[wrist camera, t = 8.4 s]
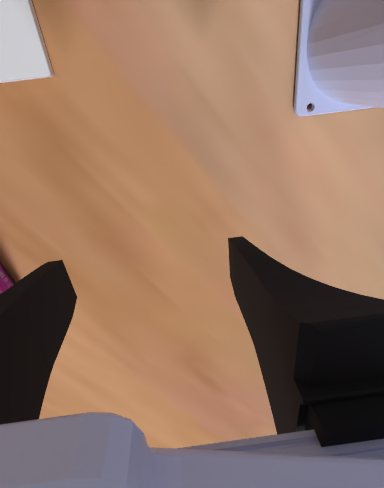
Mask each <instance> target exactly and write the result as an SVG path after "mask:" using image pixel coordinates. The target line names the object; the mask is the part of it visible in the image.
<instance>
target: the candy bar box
mask: <svg viewBox="0 0 384 488" xmlns="http://www.w3.org/2000/svg"><path fill="white" fill-rule="evenodd" d="M14 284H16V283H15V282H14V281H13V279H12V278H11V277H10V276H9V274H8V273H7V272H6V270H5V269H4V268H3V267H2V265H1V264H0V294H1V293H3V292H4V291H6V290H7V289H9V288H10V287H11V286H13V285H14Z"/></svg>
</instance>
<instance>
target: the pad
mask: <svg viewBox="0 0 384 488" xmlns="http://www.w3.org/2000/svg"><path fill="white" fill-rule="evenodd" d="M46 77H54V73H53V69H52V66H51V63H50V59H49V56H48V53H47V50H46V46H45V43H44V40H43V36H42V33H41V30H40V26H39V23H38V20H37V16H36V13H35V10H34V6H33V3H32V0H0V83H6V82H14V81H22V80H30V79H38V78H46Z"/></svg>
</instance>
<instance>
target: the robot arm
mask: <svg viewBox="0 0 384 488" xmlns="http://www.w3.org/2000/svg"><path fill="white" fill-rule="evenodd" d="M310 103H311V104H312V108H311V110H310V111H307V105H308V104H310ZM373 107H380V108H384V0H301V3H300V19H299V35H298V50H297V66H296V81H295V97H294V113H295V114H296V115H297V116H310V115H318V114H325V113H333V112H341V111H349V110H357V109H365V108H373ZM228 243H229V263H230V278H231V282H232V286H233V290H234V294H235V297H236V300H237V302H238V305H239V307H240V310H241V312H242V315H243V317H244V320H245V322H246V325H247V327H248V330H249V332H250V335H251V338H252V340H253V343H254V346H255V350H256V353H257V357H258V361H259V364H260V368H261V372H262V375H263V379H264V383H265V387H266V390H267V394H268V398H269V402H270V406H271V410H272V414H273V418H274V422H275V426H276V430H277V435H271V436H263V437H256V438H249V439H242V440H235V441H227V442H220V443H213V444H206V445H199V446H191V447H184V448H177V449H174V448H149V446H148V444H147V441H146V438H145V436H144V433H143V432H142V431H141V430H140V429H139V428H138V427H137V426H136V425H135V424H134V422H133V421H132V420H131V419H128V418H125V417H123V416H120V415H117V414H114V413H96V412H88V413H81V414H74V415H67V416H59V417H52V418H45V419H39V415H40V411H41V407H42V403H43V399H44V395H45V392H46V388H47V384H48V381H49V377H50V374H51V371H52V368H53V365H54V362H55V360H56V357H57V355H58V352H59V350H60V348H61V345H62V343H63V340H64V338H65V335H66V333H67V330H68V327H69V325H70V322H71V320H72V317H73V313H74V309H75V304H76V299H77V296H76V293H75V291H74V288H73V286H72V283H71V281H70V278H69V276H68V273H67V271H66V268H65V266H64V263H63V261H62V260H59V261H51V262H47V263H45V264H43V265H42V266H40V267H39V268H37V269H36V270H34V271H33V272H31V273H30V274H28V275H27V276H26V277H24V278H23V279H21V280H20V281H18V282H17V283H16V284H14V285H13V286H11V287H10V288H9V289H7V290H6V291H4V292H3V293H1V294H0V488H384V300H383V299H378V298H373V297H369V296H364V295H360V294H356V293H352V292H349V291H345V290H342V289H339V288H335V287H332V286H329V285H327V284H324V283H321V282H319V281H316V280H313V279H311V278H309V277H306V276H304V275H302V274H300V273H298V272H296V271H294V270H292V269H290V268H288V267H286V266H285V265H283V264H281V263H279V262H278V261H276V260H274V259H273V258H271V257H270V256H268V255H267V254H265V253H264V252H263V251H261V250H260V249H258V248H257V247H256V246H254V245H253V244H252V243H250V242H249V241H248V240H246V239H245V238H244V237H234V238H228Z"/></svg>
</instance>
